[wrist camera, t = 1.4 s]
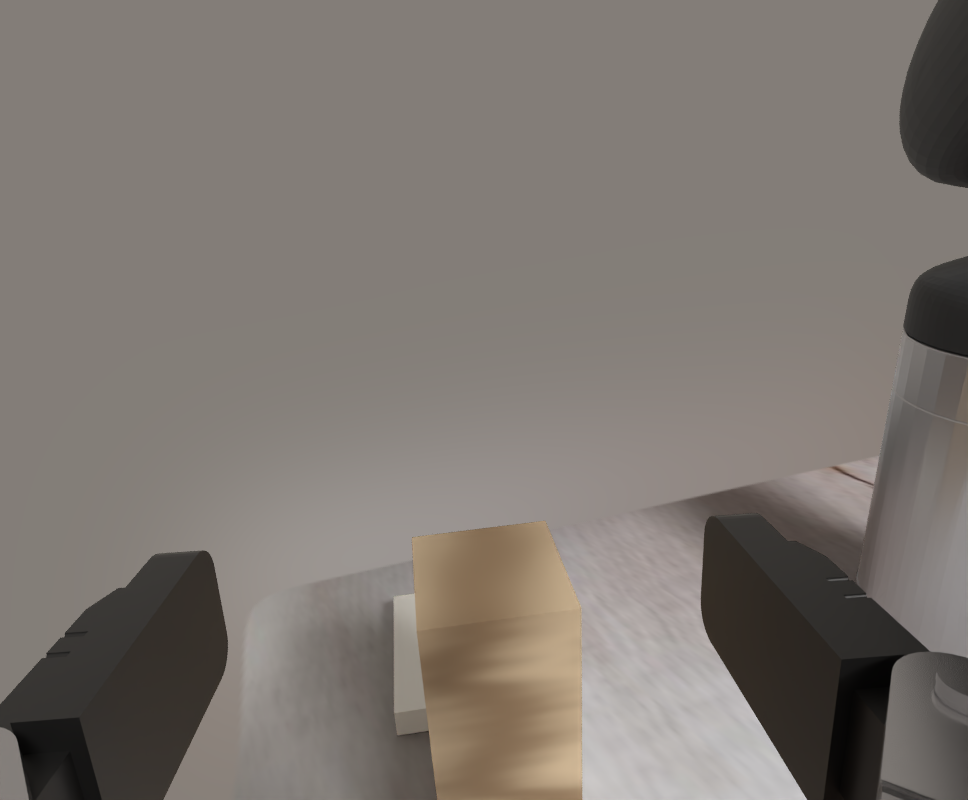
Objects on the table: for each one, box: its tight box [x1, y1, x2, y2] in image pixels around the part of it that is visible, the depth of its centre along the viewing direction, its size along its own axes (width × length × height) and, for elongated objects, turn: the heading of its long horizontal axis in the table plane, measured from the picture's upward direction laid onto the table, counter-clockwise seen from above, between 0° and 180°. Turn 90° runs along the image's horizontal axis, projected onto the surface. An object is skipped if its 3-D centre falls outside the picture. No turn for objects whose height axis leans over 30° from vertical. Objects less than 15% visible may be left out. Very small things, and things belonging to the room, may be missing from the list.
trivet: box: [394, 594, 429, 736], centre depth 37 cm, size 9×9×2 cm
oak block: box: [412, 521, 582, 800], centre depth 24 cm, size 5×5×14 cm
